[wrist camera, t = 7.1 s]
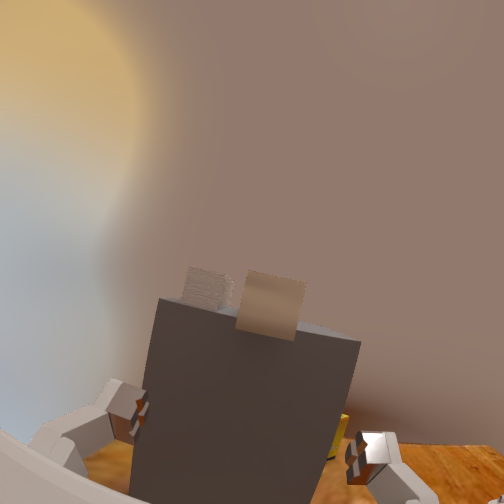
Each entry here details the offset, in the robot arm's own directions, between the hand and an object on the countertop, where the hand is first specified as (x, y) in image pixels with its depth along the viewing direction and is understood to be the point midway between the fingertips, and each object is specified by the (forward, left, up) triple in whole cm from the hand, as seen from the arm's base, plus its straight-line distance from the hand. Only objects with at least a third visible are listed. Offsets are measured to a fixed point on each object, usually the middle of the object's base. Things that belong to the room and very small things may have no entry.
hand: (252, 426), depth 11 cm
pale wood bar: (-14, -14, +3) cm, 20 cm away
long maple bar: (-13, -7, +3) cm, 15 cm away
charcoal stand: (-18, -10, -27) cm, 34 cm away
